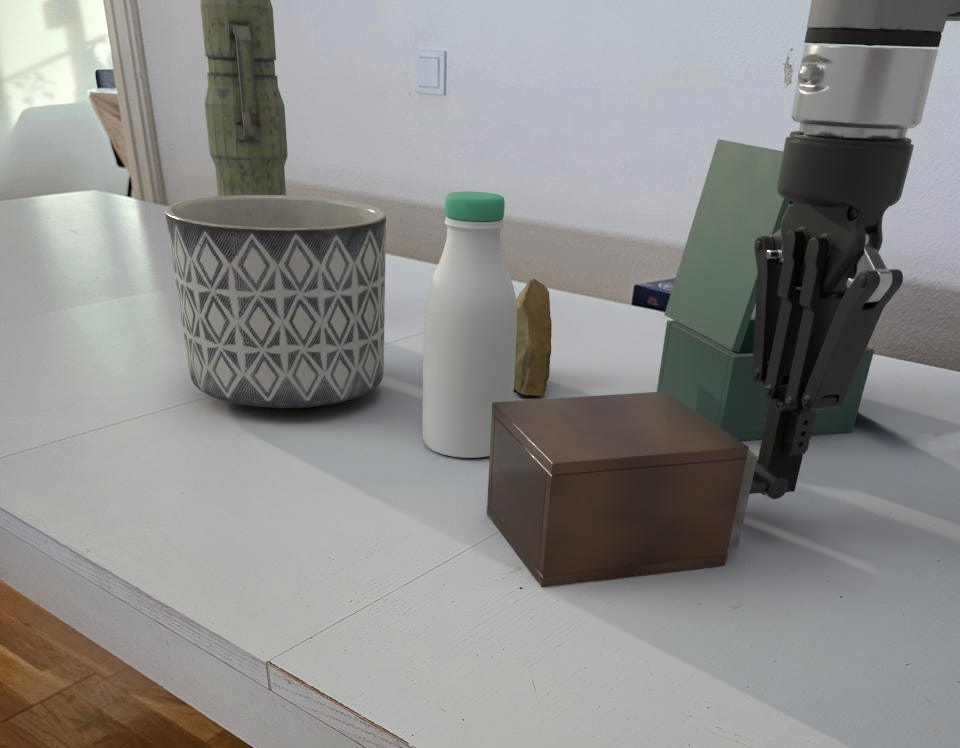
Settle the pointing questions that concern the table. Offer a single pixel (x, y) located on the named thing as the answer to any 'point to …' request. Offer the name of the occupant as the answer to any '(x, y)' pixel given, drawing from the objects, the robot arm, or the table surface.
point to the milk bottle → (468, 329)
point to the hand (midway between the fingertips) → (773, 488)
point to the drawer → (755, 491)
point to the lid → (727, 243)
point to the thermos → (244, 98)
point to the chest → (737, 384)
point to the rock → (533, 340)
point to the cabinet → (612, 486)
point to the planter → (280, 297)
